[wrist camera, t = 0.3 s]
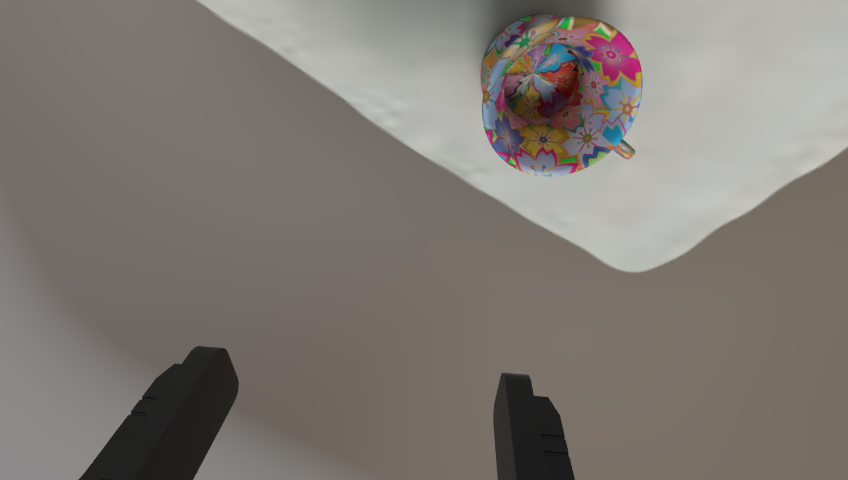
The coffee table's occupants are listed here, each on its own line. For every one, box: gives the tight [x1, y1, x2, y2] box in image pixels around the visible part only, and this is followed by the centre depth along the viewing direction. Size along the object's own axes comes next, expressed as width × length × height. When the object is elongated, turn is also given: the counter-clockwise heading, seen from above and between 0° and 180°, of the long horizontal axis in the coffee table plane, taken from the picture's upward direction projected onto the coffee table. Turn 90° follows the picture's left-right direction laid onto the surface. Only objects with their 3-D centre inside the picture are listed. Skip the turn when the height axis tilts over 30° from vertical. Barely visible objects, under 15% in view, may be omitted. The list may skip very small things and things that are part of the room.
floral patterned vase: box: [481, 14, 642, 176], centre depth 28 cm, size 12×9×11 cm
